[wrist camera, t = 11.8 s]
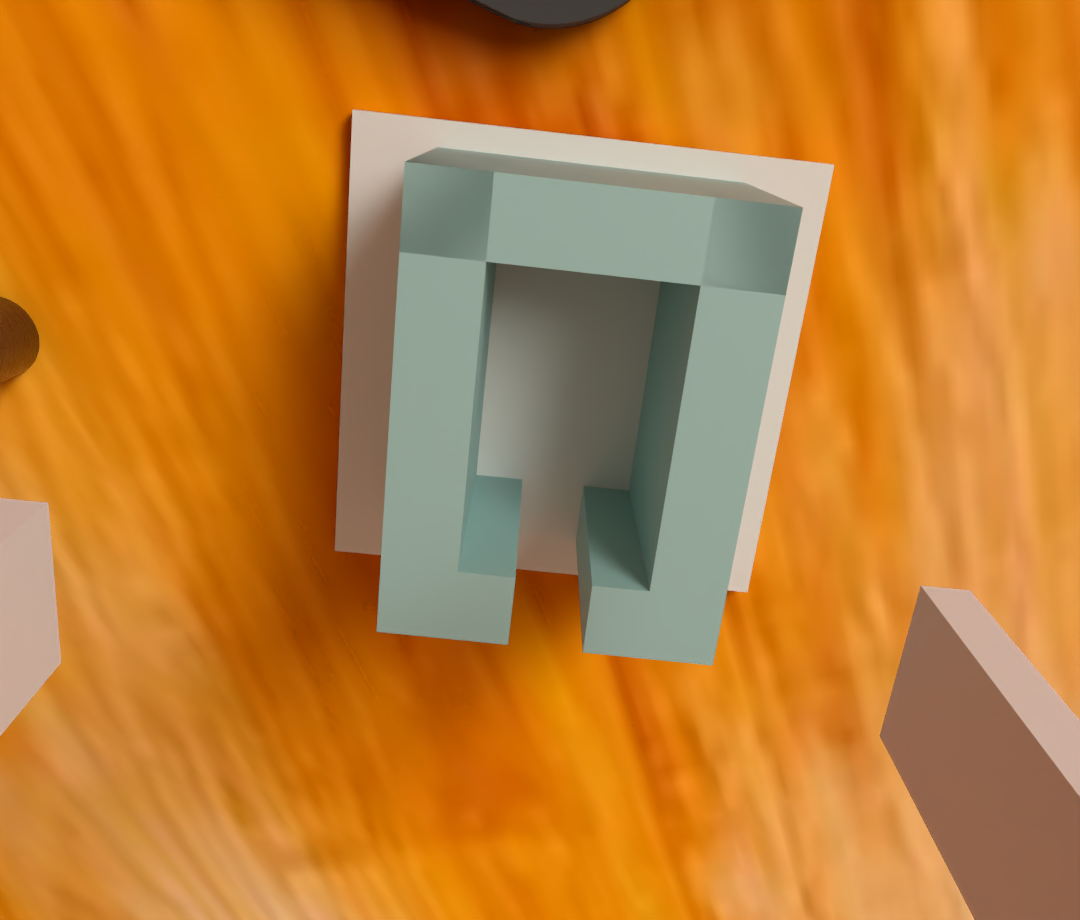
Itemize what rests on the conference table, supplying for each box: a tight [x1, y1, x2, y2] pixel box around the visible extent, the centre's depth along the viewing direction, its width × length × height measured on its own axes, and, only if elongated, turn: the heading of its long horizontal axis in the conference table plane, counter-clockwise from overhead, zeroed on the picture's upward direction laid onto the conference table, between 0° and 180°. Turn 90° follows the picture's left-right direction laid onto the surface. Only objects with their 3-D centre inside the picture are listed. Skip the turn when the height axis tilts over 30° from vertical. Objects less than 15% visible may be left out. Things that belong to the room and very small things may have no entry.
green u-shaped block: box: [377, 147, 803, 665], centre depth 27 cm, size 12×9×7 cm
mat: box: [335, 110, 834, 592], centre depth 31 cm, size 14×14×1 cm
